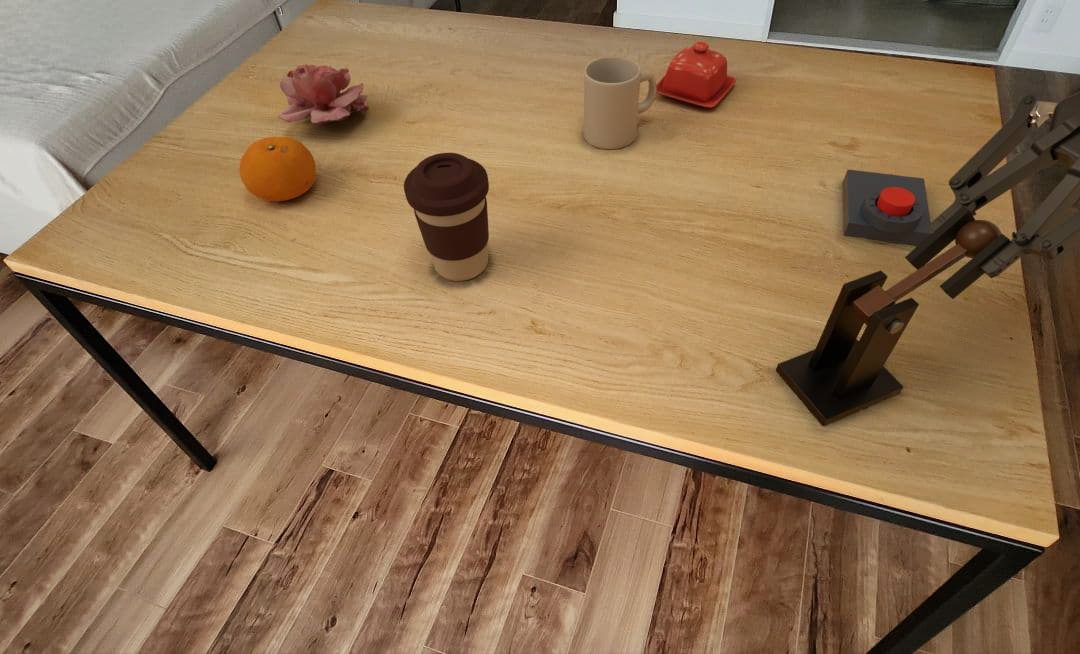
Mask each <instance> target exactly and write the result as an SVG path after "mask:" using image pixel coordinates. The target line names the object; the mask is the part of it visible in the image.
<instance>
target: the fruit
mask: <svg viewBox="0 0 1080 654" xmlns="http://www.w3.org/2000/svg"><path fill="white" fill-rule="evenodd" d="M238 172H239V173H238V174H239V177H240V180H241V182H242V183H243V185H244V187H245V189H246V190H247V191H248V192H249V193H251V194H252V195H253V196H255V197H256V198H258V199H261V200H263V201H268V202H269V201H270V202H283V201H284V202H285V201H289V200H292V199H294V198H297V197H300V196H302V195H304V193H306V192H307V191H308V190H310V189H311V187H312V186H313V184H314V183H315V181H316V176H317V166H316V161H315V159H314V156H313V154H312V153H311V151H310V150H309V149H308V148H307V147H306V146H305V145H304V144H303V143H302V142H301V141H299V140H297V139H295V138H294V137H293V138H292V137H289V136H268V137H267V136H266V137H263V138H260V139H258V140H256V141H254V142H253V143H251V144H250V145H249V147H247V149H246V150H245V152H244V153H243V155H242V157H241V158H240V162H239V167H238Z"/></svg>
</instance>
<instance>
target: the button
mask: <svg viewBox="0 0 1080 654" xmlns="http://www.w3.org/2000/svg"><path fill="white" fill-rule="evenodd" d="M914 202H915V197H914V195H913V194H912V193H911V192H909V191H908V190H905V189H903V188H899V187H889V188H886V189H884V190H883V191H882V192H881V194H880V197H879V199H878V201H877V208H878V209H879V210H880V211H881V212H884V213H886V214H888V215H890V216H897V217H903V216H906V215H908V214H909V212H910V210H911V208H912V206H913V204H914Z"/></svg>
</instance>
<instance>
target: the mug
mask: <svg viewBox="0 0 1080 654" xmlns="http://www.w3.org/2000/svg"><path fill="white" fill-rule="evenodd" d="M646 81H648V91H647V95H646V98H645V99H644V100H642V101H641V102H640V92H641V91H640V89H641V88H640V87H641V83H643V82H646ZM656 85H657V79H656V75H655V74H654V73H653V71H651V70H649V69H645V70H644V69H643V70H641V67H640V66H639V64H638V63H637V62H635V61H633V60H632V59H630V58H626V57H621V56H619V57H618V56H605V57H600V58H597V59H594V60H592V61H590V62H588V63H587V65H586V66H585V68H584V70H583V131H582V132H583V139H584V140H585V141H586V142H587V143H588V144H589V145H590V146H592V147H594V148H596V149H602V150H619V149H622V148H626V147H627V146H629V145H631V144H632V143H634V141H635V139H636V137H637V133H638V119H639V114H642V113H644V112H647V111H648V110H649V109H650V108H651V107H652V106H653V104H654V102H655V99H656V94H657V93H656Z"/></svg>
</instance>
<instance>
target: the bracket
mask: <svg viewBox="0 0 1080 654" xmlns="http://www.w3.org/2000/svg"><path fill="white" fill-rule="evenodd" d="M887 279H888V275H887V274H886V273H885V272H883V271H882V270H878V271H875V272H873V273H870V274H867V275H864V276H861V277H859V278H857V279H852V280H851V281H847V282H845V283H843V285H842V287H841V289H840V292H839V294H838V296H837V298H836V300H835V303H834V305H833V307H832V310H831V312H830V314H829V317H828V319H827V321H826V323H825V325H824V328H823V331H822V333H821V335H820V337H819V339H818V342H817V345H816V346H815V349H812V350H811V351H807V352H804V353H802V354H799V355H797V356H794V357H792V358H790V359H787V360H784V361H781V362H779V363H778V364H777V365H776V369H775V372H776V373H777V374H778V375H779V376H780V377H781V378H782V380H783V381H784V382H785V383H786V384H787V385H788V387H789V388H790V389H791V390H792V392H793V393H794V394H795V395H796V396H797V397H798V399H799V400H800V401H801V402H802V403H803V405H804V406H805V407H806V408H807V409H808V411H810V413H811V414H812V415H813V417H815V419H816V420H817V421H818V422H819V424H820V425H821V426H822V427H824V426H827V425H829V424H832V423H834V422H836V421H838V420H841V419H843V418H845V417H848V416H850V415H852V414H854V413H857V412H859V411H862V410H864V409H866V408H868V407H871V406H873V405H876V404H878V403H881V402H882V401H885V400H887V399H890V398H893V397H894V396H897V395H899V394H901V393H902V391H903V389H904V387H905V386H904V385H903V384H902V383H901V382H900V381H899V380H898V379H897V378H896V377H895V376H894V375H893V374H892V373H891V372H890V371H889V370H888V369H887V368H886V367H885V364H886V362H887V360H888V359H889V357H890V356H891V354H892V352H893V350H895V347H896V345H897V344H898V342H899V341H900V338H901V337H902V335H903V333H904V332H905V330H906V328H907V327H908V325H909V323H910V321H911V320H912V318H913V316H914V314H915V312H916V311H917V309H918V307H919V306H920V304H919V302H918V301H916V300H915V299H914V298H913V297H909V298H907V299H904V300H902V301H898V302H897V303H896V302H895V304H894V305H891V306H889V307H886V308H884V309H881V310H878V311H876V312H874V313H873V314H872V316H871V318H870V320H869V322H868V324H867V325H865V323H864V322H863V321H862V320H861V319H860V318H859V317H858V316H857V315H855V313H854V304H853V302H854V301H855V300H857V299H858V298H860V297H861V296H863V295H864V294H866V293H867V292H869V291H870V290H872V289H874V288H875V287H877V286H878V285H879V286H880V287H881V288H882V289H883V287H884V285H885V283H886V281H887ZM864 325H865V328H864V329H863V327H864ZM862 329H863V330H864V331H863V332H862V334H861V336H860V338H859V340H858V336H859V335H860V333H861V331H862Z"/></svg>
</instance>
